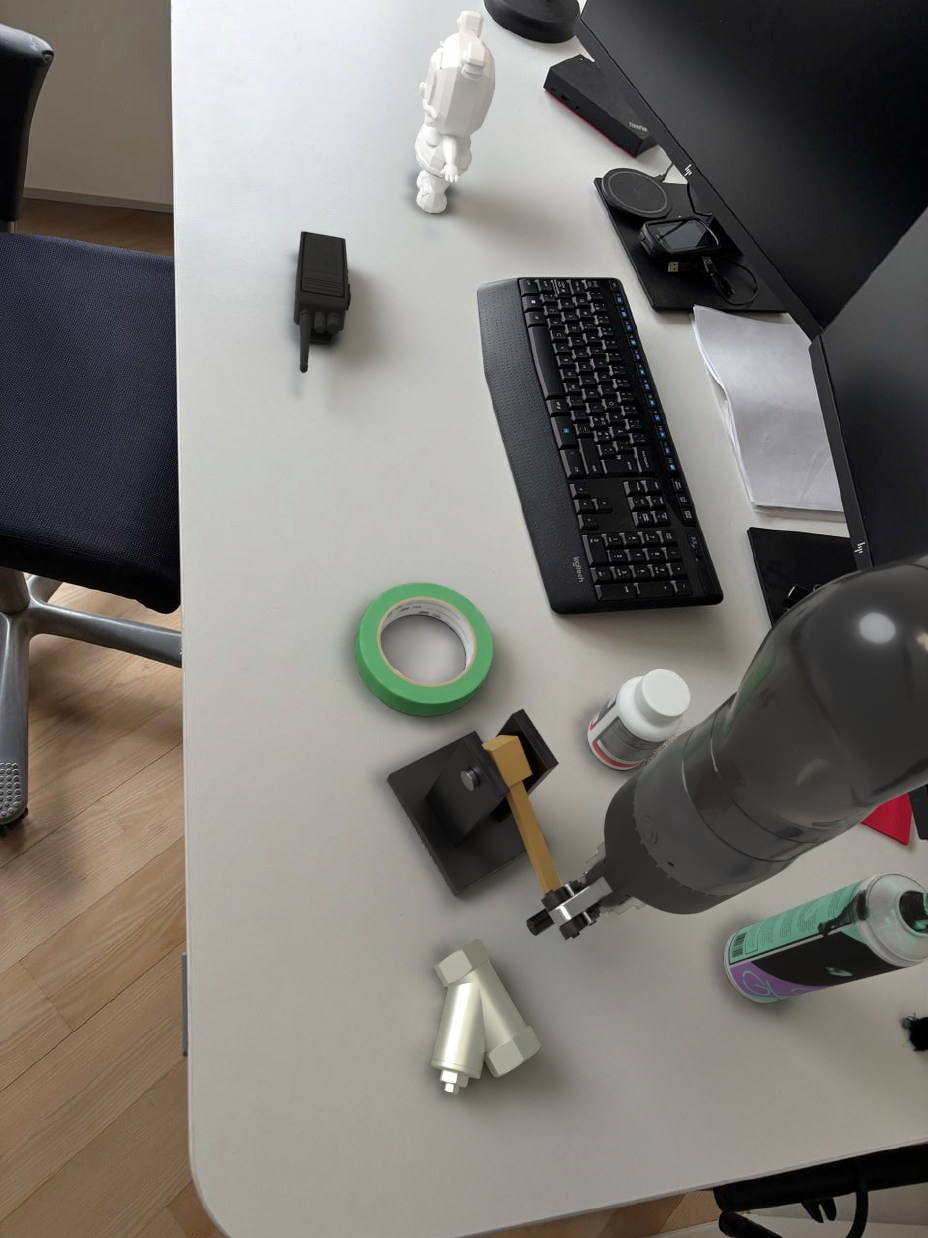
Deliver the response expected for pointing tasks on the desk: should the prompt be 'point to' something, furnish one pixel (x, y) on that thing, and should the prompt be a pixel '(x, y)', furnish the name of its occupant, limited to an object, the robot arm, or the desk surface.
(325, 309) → the walkie-talkie
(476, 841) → the black mounting base
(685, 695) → the pill bottle
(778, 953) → the spray can
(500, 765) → the faucet lever
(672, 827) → the robot arm
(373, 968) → the desk surface
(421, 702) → the tape roll
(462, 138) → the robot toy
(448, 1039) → the pipe fitting
